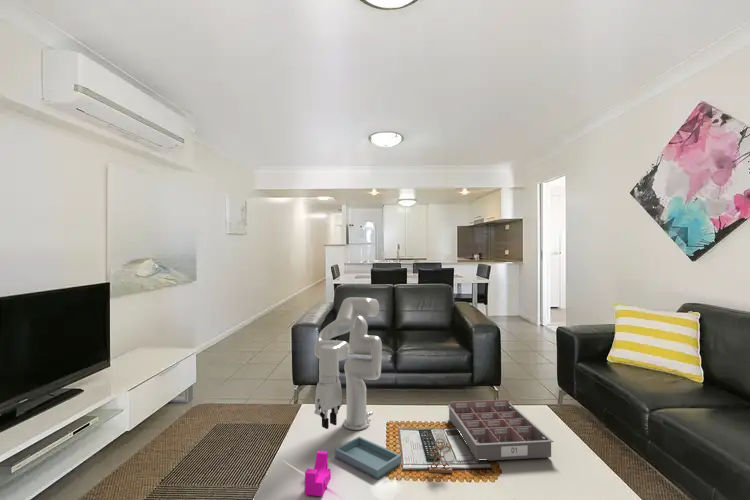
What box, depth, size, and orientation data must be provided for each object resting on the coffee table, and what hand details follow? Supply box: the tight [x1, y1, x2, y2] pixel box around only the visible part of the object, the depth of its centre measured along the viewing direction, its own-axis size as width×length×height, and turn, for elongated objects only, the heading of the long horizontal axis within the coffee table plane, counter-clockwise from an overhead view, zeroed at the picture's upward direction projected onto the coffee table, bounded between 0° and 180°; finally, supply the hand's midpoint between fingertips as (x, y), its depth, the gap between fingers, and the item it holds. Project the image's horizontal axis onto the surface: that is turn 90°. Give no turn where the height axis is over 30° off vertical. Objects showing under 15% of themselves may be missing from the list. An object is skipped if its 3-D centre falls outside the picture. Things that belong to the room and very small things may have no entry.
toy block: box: [304, 450, 332, 497], centre depth 139 cm, size 15×6×8 cm, turn 171°
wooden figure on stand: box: [428, 437, 454, 474], centre depth 147 cm, size 9×4×12 cm, turn 86°
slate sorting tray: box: [334, 436, 402, 481], centre depth 153 cm, size 14×23×4 cm, turn 48°
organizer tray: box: [446, 399, 554, 461], centre depth 171 cm, size 32×40×10 cm
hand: (329, 425), depth 147 cm, fingers open, 3 cm apart
